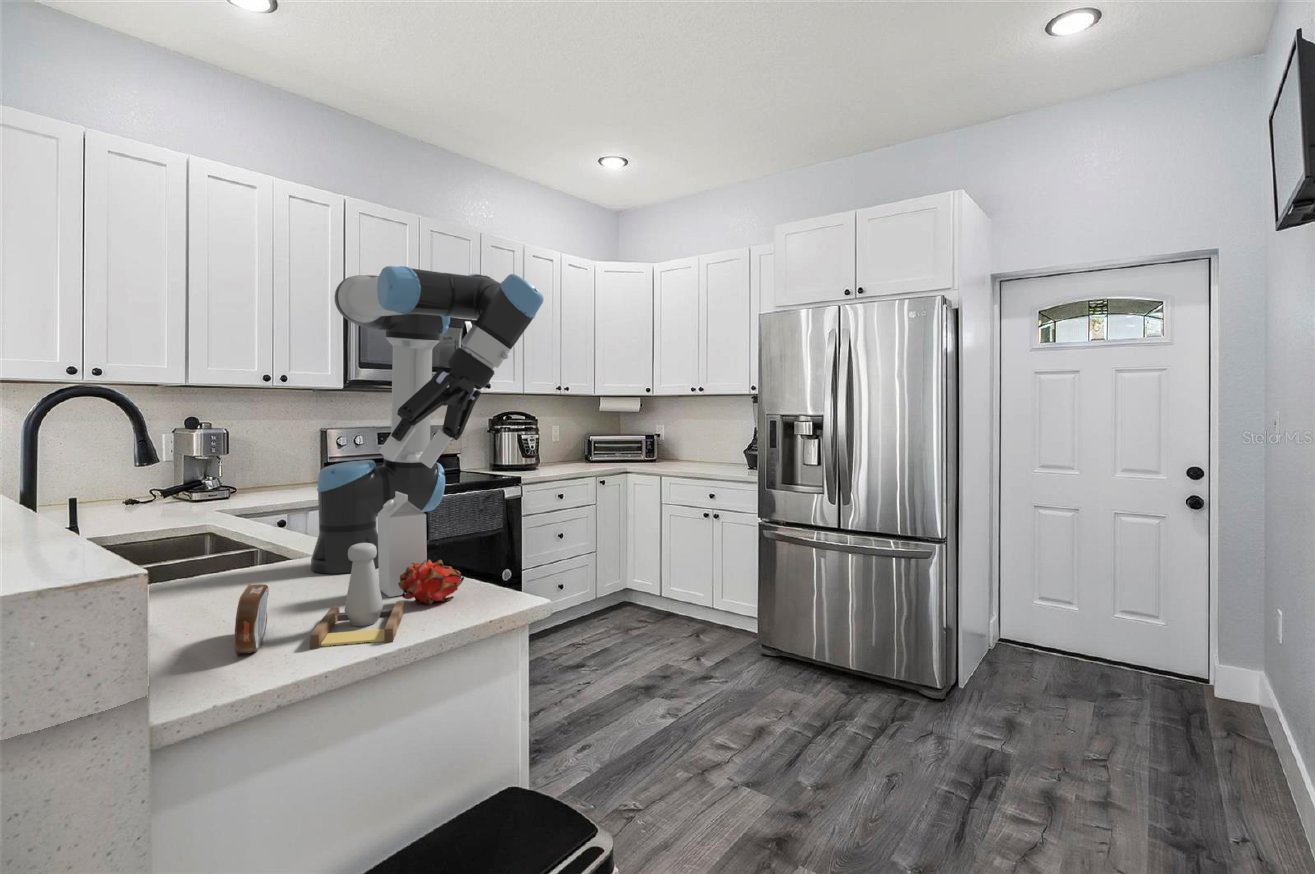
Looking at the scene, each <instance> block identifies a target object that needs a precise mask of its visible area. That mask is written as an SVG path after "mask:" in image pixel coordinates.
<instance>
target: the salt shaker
mask: <svg viewBox="0 0 1315 874" xmlns="http://www.w3.org/2000/svg"><path fill="white" fill-rule="evenodd" d="M376 555H377V549H376V546H375V545H373V544H371V543H358V544H355V545H352V546H351V547H350V548H349V549H348V558H349V560H351V561H353V563H352V570H351V573H350V577H349V583H348V588H347V589H348V590H347V593H346V599H345V605H344V612H345V614H346V615H347V617H348V618H349V619H348V620H349V621H350V624H351V625H352V626H355V627H366V626H370V625H374V624H375V623H376V622H377V621H378V620H379V618H380V617H379V616H380V614H381V611H382V610H384V609H383V608H384V602H383V597H382V591H381V590H380V588H379V578H378V575H377V570H376V568H375V565H374V561H373V559H374V558H375V557H376Z"/></svg>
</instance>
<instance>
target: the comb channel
mask: <svg viewBox="0 0 1315 874" xmlns="http://www.w3.org/2000/svg"><path fill="white" fill-rule="evenodd" d="M340 611H341V610H340V605H334V606H332V605H331V607H330V608H328V611H327V612H326V613H325V614H324V616H323V617H322V619H320V621H319V623H318V624H317V625H316V626H315V628H314V629H313V630H312V632H311V633H310V635H309V649H310V650H311V649H312V648H314V649H320V648H321V643H322V641H323V640H324V638H325V637H326V635H327V634H328V633H331V631H332V630H331V629H333V628H334V627H335V625H336V624H337V622H338V621H345V620H346V619H347V620H349V618H348V617H347V615H346V614H345V611H344V612H340ZM404 614H405V603H404V600H402V601H401V600H400V601H396V602H395V604H394V606H393V608H390V609H389V608H388V609H387V608H386V609H382V611H381V614H380V616H379V618H385V617H386V618H387V617H389V618H388V620H387V621H386V625H385V627H384V628H383V629H384V640H385V641H384V643H393V642H394V641H395V638H394V637H396V635H397V632H398V630H399V627H400V624H401V621H402V619H403V616H404ZM344 619H345V620H344ZM347 620H346V621H347ZM335 623H336V624H335ZM397 629H398V630H397ZM393 640H394V641H393Z"/></svg>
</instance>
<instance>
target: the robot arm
mask: <svg viewBox="0 0 1315 874" xmlns="http://www.w3.org/2000/svg"><path fill="white" fill-rule="evenodd" d="M543 303H544V296H543V293H541V292H540V290H538V289H537V288H536V287H535V286H534V285H533V284H531V283H530V282H528V281H527V280H525V279H524V278H522V277H520V276H519V275H517V274H515V273H510V274H509V275H507V276H506V277H505V278H504V279H503V281H500V282H499V281H497V280H495V279H494V278H492V277H490V276H488V275H485V274H483V275H482V274H479V273H472V274H469V275H466V274H457V273H449V272H440V271H431V270H426V269H420V268H411V267H409V266H392V265H388V266H385V267H383V268H382V269H381V271H380V273H379V275H373V274H371V275H369V274H367V275H364V274H363V275H361V274H360V275H352V276H348V277H346V278H345V279H343V280H342V281H341V282H340V283H339V284H338V286H336V289H335V292H334V304H335V307H336V309H337V310H338V312H339V314H340V315H341V316H342V317H343V318H344V319H346V320H347V321H348V322H350V323H353V324H355V325H356V326H359V327H361V328H362V327H363V328H366V329H372V330H381V331H385V340H387V341H388V342H389V344H390V345H392V368H391V369H392V370H391V371H392V375H391V378H392V380H391V420H390V421H391V424H390V425H391V426H390V429H391V430H390V434H389V436H388V437H387V439H386V441H385V442H384V443H383V444H382V446H381V448H380V449H379V451H378V453H380V454H381V455H382V456H383V464H382V465H377V464H376V462H375V460H372V459H363V460H352V461H346V462H340V463H335V464H331V465H328V466H325V467H323V468H322V469H320V471H319V473H318V478H317V479H318V480H317V489H316V491H317V493H318V495H317V498H318V500H317V501H318V502H317V503H318V531H319V532H318V537H317V540H316V543H315V547H314V549H313V552H312V555H311V559H310V570H311V571H312V572H314V573H319V574H333V575H334V574H335V575H336V574H349V573H350V574H351V570H352V563H353V561H351V560H349V558H348V549H349V548H350V547H351V546H352V545H355V544H358V543H371V544H373V545H375V546H376V549H377V555H376V557H375V558H374V559H373V561H374V565H375V569H378V568H379V565H378V529H377V518H378V513H379V512H380V511H381V510H382V509H383V505H384V504H385V503H386V502H387V501H389V500H391V499H392V500H393V499H394V498H395V492H399V493H403V494H406V495H408V501H409V502H410V503H411V504H413V505H414V506H415V507H417V508H418V509H419V510H421V511H422V512H423V513H425V512H426V513H427V512H430V511H431V512H432V511H433V510H435V509H436V508H437V507H438V506H439V504H440V503H441V502H442V499H443V496H444V493H445V488H446V476H445V470H444V467H443V466H442V464H441V463H439V462H437V461H438V459H439V458H440V456H441V455H442V453H443V452H444V451H445V449H446V448H447V447H448V445H449V444H450V442H451V441H452V439H453V440H454V441H458V440H459V439H460V437H461V436H462V435H463V433H464V430H465V428H466V425H467V423H468V421H469V419H470V416H471V414H472V412H473V409H474V408H475V404H476V402H477V401H478V399H479V397H480V396H481V394H482V392H481V391H480V390H479V389H477V388H476V386H477V387H479V388H483V389H484V388H486V386H488V384H489V382H490V381H491V379H492V378H493V376H494V375H495V370H494V368H496V369H497V368H498V369H499V367H500V366H501V365H502V363H503V362H504V360H507V359H508V358H509V353H510V351H511V350H512V349H513V347H514V346H515V345H516V343H517V342H518V340H520V338H521V337H522V335H523V333H524V332H525V331H526V329H527V328H528V326H529V325H530V324H531V322H532V321H533V320H534V319H535V318H536V315H537V313H538V311H539V310H540V308H541V307H542V305H543ZM451 318H459V319H460V318H461V319H474V320H476V321H474V323H473V324H472V326H471V328H470V329H469V330H468V332H467V333H466V334H465V335H464V337H463V338H462V339H461V341H460V345H462V346H461V347H457V348H456V349H455V350H454V352H453V353H452V354H451V356H450V357H449V358H448V359H447V361H446V364H447V366H448V367H449V368H451V370H450V371H449V372H448V373H447V371H445V370H443V369H442V368H439V369H437V371H436V372H435V374H434V375H433V349H434V348H435V347H436V346H437V345H438V344H439V343H440V339H441V336H442V335H444V334H445V333H447V332H448V329H449V325H450V323H451ZM432 375H433V376H432ZM442 406H443V407H444V406H446V411H445V416H444V421H443V423H442V424H443V425H442V427H441V428H442V430H440V429H438V430H437V431H436V433H435V434H434V436H433V437H432V439H431V420H432V419H431V414H433V413H434V412H435V411H437V410H439V409H440V408H441V407H442Z"/></svg>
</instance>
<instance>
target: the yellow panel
mask: <svg viewBox="0 0 1315 874" xmlns="http://www.w3.org/2000/svg"><path fill="white" fill-rule="evenodd" d="M384 629H385V628H375V629H366V630H364V629H363V630H355V631H354V630H352V631H339V632H338V631H337V632H330V633H328V634H327V635H326V637H325V638H324V640H323V641H322V643H321V646H324V647H333V645H336V646H345V645H344V644H348V645H357V643H360V644H367V643H366V642H371V643H381V642H385V640H384ZM364 642H365V643H364ZM342 644H343V645H342ZM330 645H331V646H330ZM321 646H320V647H321Z"/></svg>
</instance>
